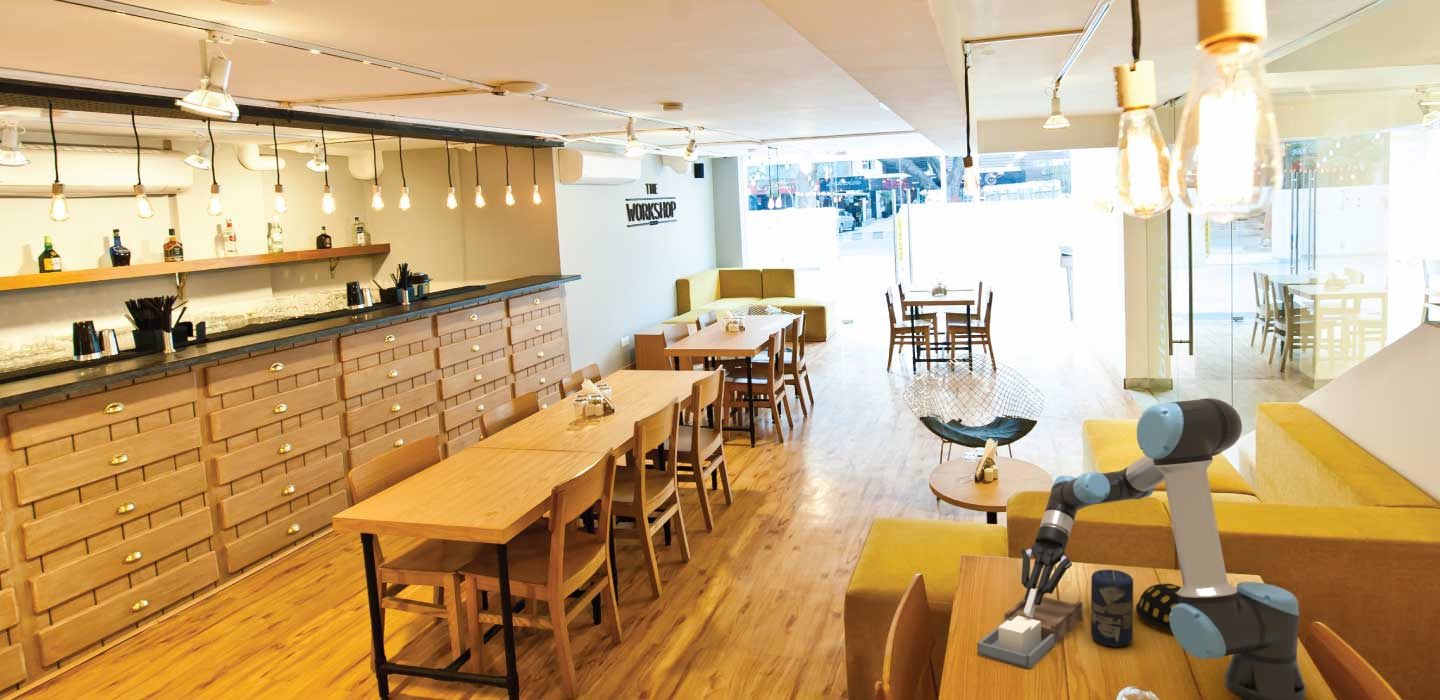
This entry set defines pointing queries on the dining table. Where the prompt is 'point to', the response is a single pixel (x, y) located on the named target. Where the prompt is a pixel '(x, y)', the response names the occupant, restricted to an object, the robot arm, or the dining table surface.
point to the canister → (1112, 607)
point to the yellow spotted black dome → (1158, 604)
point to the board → (1051, 616)
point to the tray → (992, 650)
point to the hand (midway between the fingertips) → (1028, 614)
